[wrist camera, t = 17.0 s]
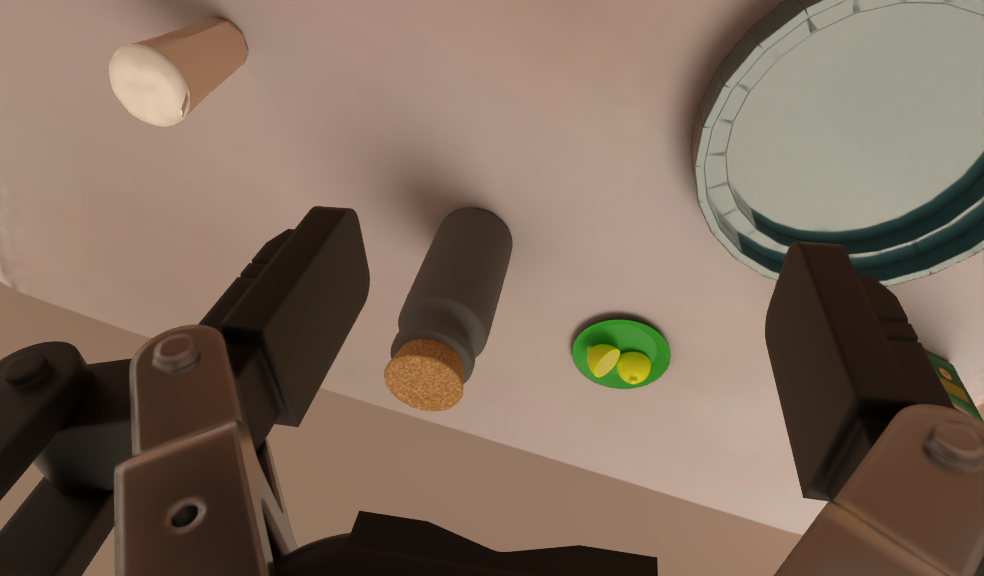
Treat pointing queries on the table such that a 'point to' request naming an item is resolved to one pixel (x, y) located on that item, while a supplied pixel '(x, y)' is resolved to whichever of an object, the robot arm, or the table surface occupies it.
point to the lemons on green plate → (621, 354)
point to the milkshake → (176, 70)
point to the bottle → (449, 310)
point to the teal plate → (849, 136)
